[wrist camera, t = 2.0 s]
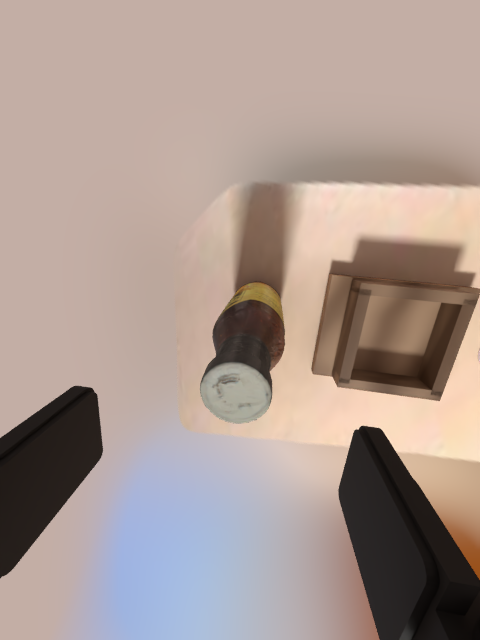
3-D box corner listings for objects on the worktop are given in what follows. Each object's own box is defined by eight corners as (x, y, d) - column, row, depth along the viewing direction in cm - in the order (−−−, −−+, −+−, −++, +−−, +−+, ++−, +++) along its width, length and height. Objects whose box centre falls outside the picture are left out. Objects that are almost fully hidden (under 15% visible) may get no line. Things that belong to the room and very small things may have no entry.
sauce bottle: (239, 275, 31) (188, 315, 12) (286, 286, 31) (311, 346, 12) (228, 322, 33) (171, 421, 14) (273, 334, 33) (276, 450, 14)
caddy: (470, 287, 28) (506, 293, 24) (434, 385, 32) (460, 406, 27) (329, 273, 30) (339, 277, 25) (311, 368, 33) (317, 386, 29)
